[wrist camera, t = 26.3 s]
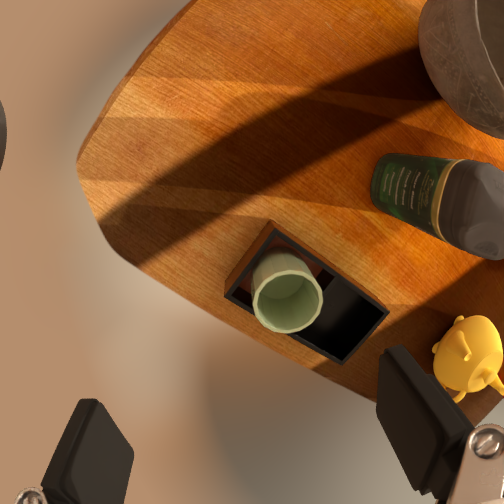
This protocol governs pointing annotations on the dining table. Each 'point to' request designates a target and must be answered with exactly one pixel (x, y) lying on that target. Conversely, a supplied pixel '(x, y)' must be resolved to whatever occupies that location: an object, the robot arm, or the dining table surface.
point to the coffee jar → (444, 199)
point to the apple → (501, 373)
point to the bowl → (466, 58)
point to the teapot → (469, 356)
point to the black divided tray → (333, 292)
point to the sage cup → (284, 291)
